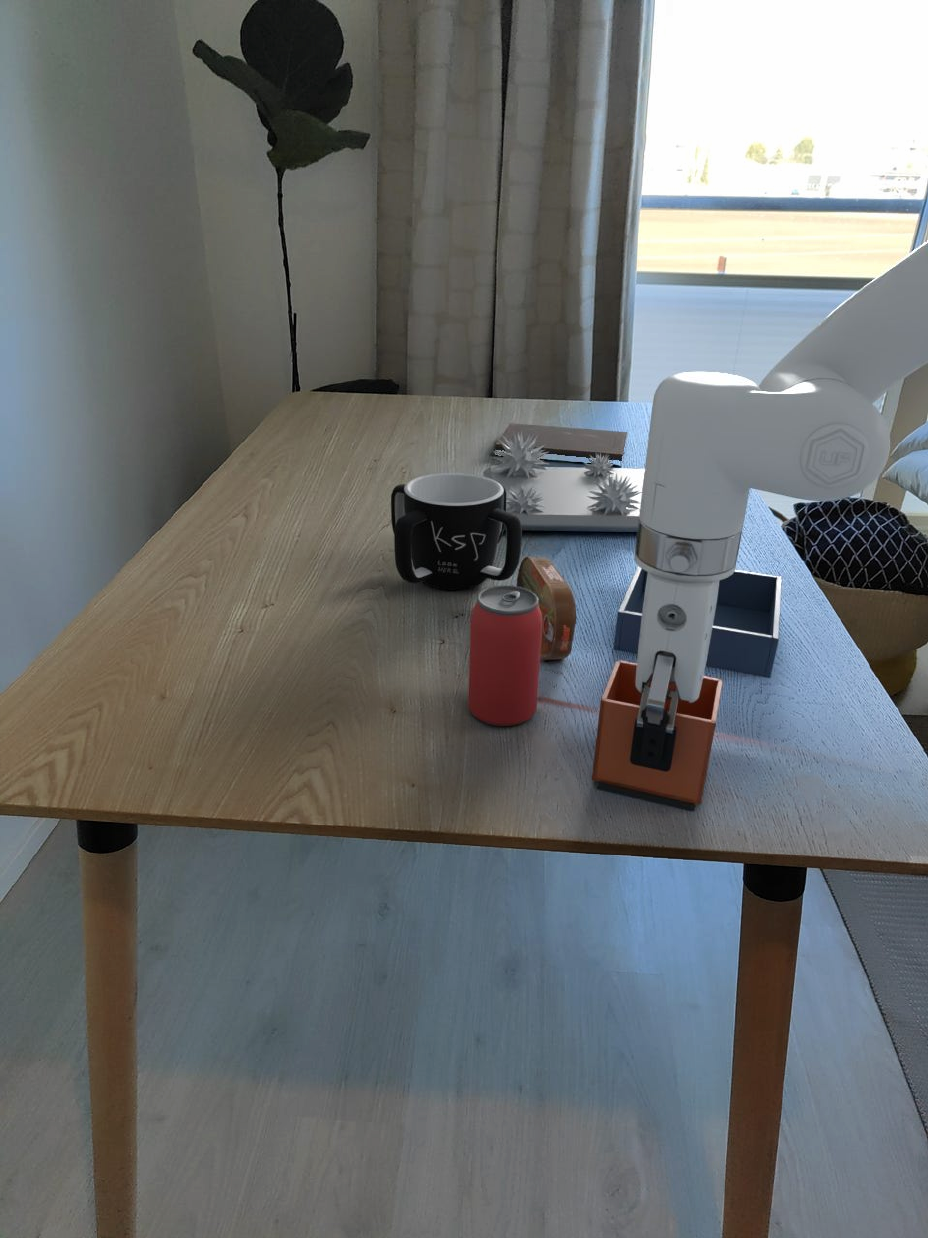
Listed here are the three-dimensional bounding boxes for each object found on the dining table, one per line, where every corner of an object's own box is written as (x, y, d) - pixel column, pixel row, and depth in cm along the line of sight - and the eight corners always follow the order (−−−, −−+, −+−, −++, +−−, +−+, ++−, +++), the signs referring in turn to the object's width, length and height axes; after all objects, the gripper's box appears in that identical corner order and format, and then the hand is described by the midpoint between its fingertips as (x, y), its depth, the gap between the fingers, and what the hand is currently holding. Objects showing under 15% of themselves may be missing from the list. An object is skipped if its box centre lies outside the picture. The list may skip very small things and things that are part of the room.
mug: (382, 603, 102) (380, 508, 96) (393, 551, 116) (392, 465, 111) (519, 606, 102) (524, 511, 96) (513, 554, 116) (518, 468, 111)
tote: (774, 615, 101) (782, 576, 99) (769, 682, 88) (778, 639, 85) (637, 593, 106) (642, 555, 104) (612, 653, 92) (617, 611, 90)
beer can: (547, 704, 83) (556, 593, 78) (516, 737, 78) (523, 621, 73) (488, 685, 86) (493, 576, 80) (455, 716, 81) (457, 602, 75)
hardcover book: (509, 434, 170) (510, 422, 169) (626, 443, 166) (627, 431, 165) (494, 456, 156) (494, 444, 155) (621, 467, 152) (622, 454, 151)
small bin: (708, 756, 75) (723, 679, 72) (700, 805, 70) (715, 723, 66) (607, 735, 78) (616, 659, 74) (591, 780, 72) (600, 700, 68)
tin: (512, 610, 101) (516, 544, 97) (538, 609, 101) (543, 543, 98) (546, 676, 88) (552, 602, 84) (575, 674, 88) (583, 600, 84)
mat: (703, 756, 76) (704, 752, 76) (694, 811, 69) (694, 807, 69) (614, 737, 78) (615, 733, 78) (597, 789, 72) (597, 785, 72)
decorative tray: (490, 537, 121) (492, 469, 117) (482, 480, 144) (484, 421, 140) (733, 540, 122) (745, 472, 118) (687, 482, 145) (696, 424, 141)
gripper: (729, 599, 56) (692, 806, 64) (745, 514, 70) (713, 691, 78) (615, 581, 58) (593, 783, 66) (653, 502, 73) (631, 675, 80)
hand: (658, 733), depth 72 cm, fingers open, 9 cm apart
